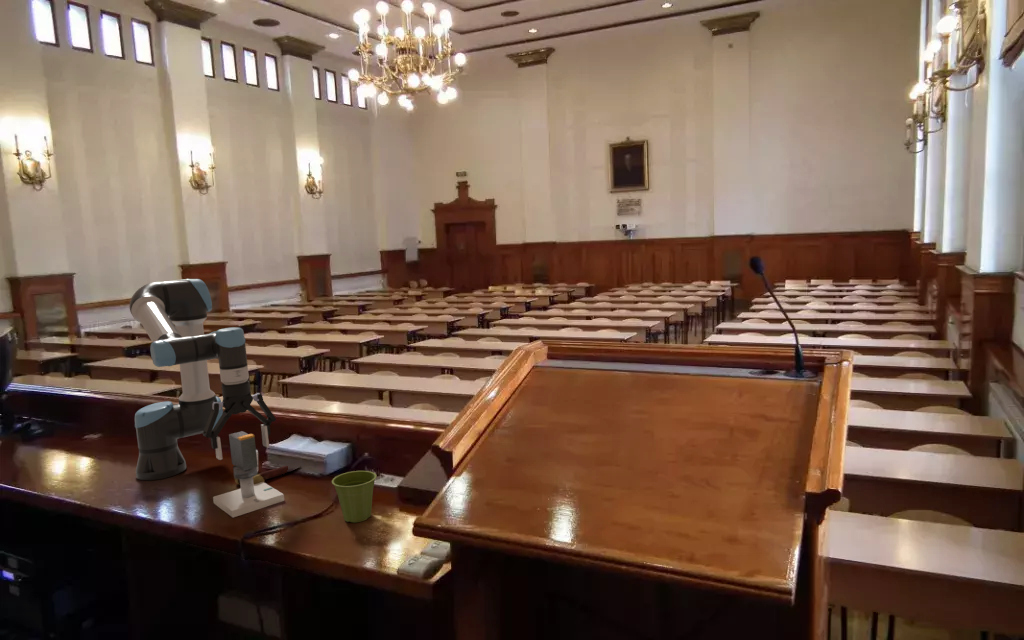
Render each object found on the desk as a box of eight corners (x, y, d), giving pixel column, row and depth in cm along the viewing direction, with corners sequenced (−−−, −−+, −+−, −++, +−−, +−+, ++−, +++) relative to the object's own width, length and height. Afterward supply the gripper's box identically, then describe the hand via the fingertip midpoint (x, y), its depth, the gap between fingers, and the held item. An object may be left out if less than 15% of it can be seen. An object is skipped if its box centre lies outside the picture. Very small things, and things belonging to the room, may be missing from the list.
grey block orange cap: (229, 474, 194) (224, 433, 192) (250, 468, 198) (246, 428, 197) (240, 482, 188) (236, 439, 186) (262, 475, 192) (258, 434, 190)
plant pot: (388, 515, 180) (385, 475, 178) (352, 531, 171) (348, 490, 170) (362, 504, 188) (359, 467, 186) (326, 519, 179) (323, 480, 178)
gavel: (292, 456, 224) (309, 461, 218) (292, 469, 225) (310, 475, 218) (233, 471, 208) (250, 478, 202) (234, 485, 208) (251, 492, 202)
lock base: (213, 503, 194) (210, 477, 193) (263, 487, 205) (260, 463, 203) (232, 517, 184) (229, 490, 182) (284, 500, 194) (281, 474, 193)
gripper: (194, 392, 178) (203, 467, 181) (282, 375, 195) (289, 443, 198) (185, 388, 183) (194, 461, 186) (271, 371, 200) (279, 438, 203)
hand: (243, 452), depth 192 cm, fingers open, 13 cm apart
